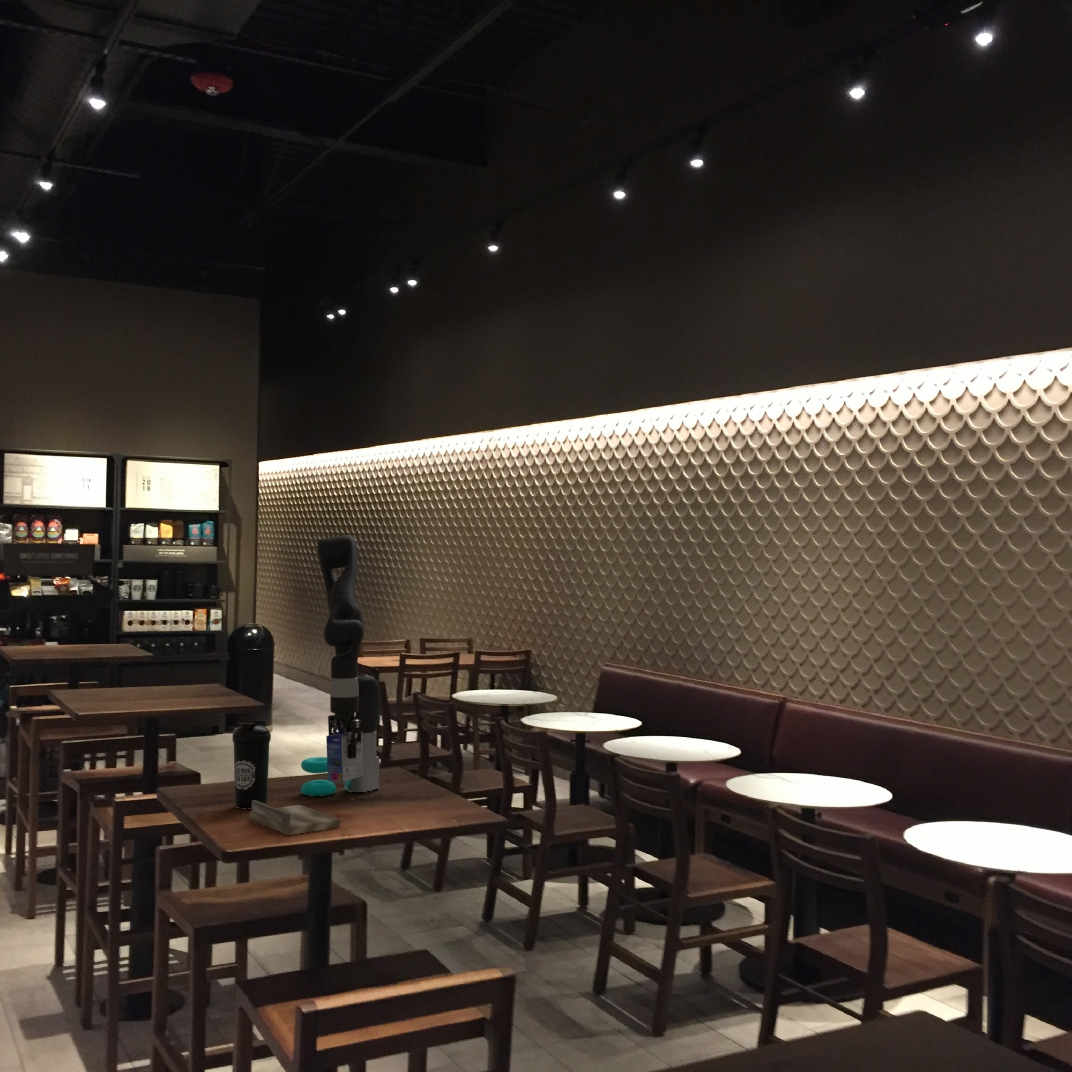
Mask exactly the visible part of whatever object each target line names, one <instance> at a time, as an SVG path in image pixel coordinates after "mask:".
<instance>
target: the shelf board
mask: <svg viewBox="0 0 1072 1072" xmlns="http://www.w3.org/2000/svg"><path fill="white" fill-rule="evenodd" d="M249 820H250V821H252V822H254V821H255V823H258V824H259V823H260V824H259V825H261V826H264V827H266V826H267V828H268V829H271V830H273V829H274V830H273V831H276V830H277V831H276V832H278V831H280V832H282V833H281V834H283V833H285V834H286V835H285V834H284V835H285V836H287V835H291V836H294V835H293V834H297V833H303V834H307V833H306V832H309V833H313V832H312V831H315V832H320V831H319V830H321V831H325V830H326V829H327V830H332V829H337V828H340V826H341V824H340V823H341V821H340V820H341V819H340V818H337V817H336V816H332V815H329V814H326V813H325V812H322V811H318V810H315V809H313V808H310V807H308V806H304V805H302V804H299V803H298V804H294V805H287V806H281V807H273V806H272V805H268V804H267V805H266V804H264V803H261V802H259V801H256V800H254V801H252V809H251V811H249ZM280 832H279V833H280ZM304 832H305V833H304ZM297 835H298V834H297Z"/></svg>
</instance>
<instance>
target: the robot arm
mask: <svg viewBox="0 0 1072 1072" xmlns="http://www.w3.org/2000/svg"><path fill="white" fill-rule="evenodd" d="M357 547H358V546H357V542H356V539H355V538H354V536H352V535H349V534H346V535H345V534H344V535H340V536H339V535H337V536H330V537H325V538H319V540H318V542H317V554H318V559H319V564H320V570H321V574H322V578H323V583H324V589H325V592H326V599H327V605H328V614H329V615H328V619H327V621H326V622H325V623H326V624H325V627H324V630H323V639H324V642H326V644H327V645H328V646H330V647H334V651H335V656H333V657H332V658H331V660H330V661H331V662H330V669H331V670H330V687H329V690H330V691H329V696H330V697H329V698H330V699H329V700H330V702H329V703H330V704H329V706H330V712H331V713H332V714H331V715H327V725H328V726H327V727H328V729H327V731H328V735H332V734H335V733H338V729H337V727H336V725H337V724H339V725H340V727H339V729H341V731H342V733H343V734H344V735H346V736H347V743H348V758H349V759H352V758H356V744H357V743H358V742H361V731H362V745H363V776H360V777H357V778H353V779H350V780H348V781H345V782H343V784H344V785H343V786H344V789H345V790H346V791H353V792H364V793H368V792H367V791H371V792H373V791H372V790H374V789H376V788H379V789H380V757H379V756H377V728H378V726H377V725H378V724H379V719H380V710H381V709H380V706H381V687H380V684H379V682H378V680H377V679H375V678H374V677H371V676H360V674H359V669H358V666H359V664H358V663H359V662H358V661H359V655H360V650H361V646H362V642H363V639H364V634H365V626H364V621H363V614H362V610H361V608H360V606H359V605H358V603H357V602H356V581H357V574H358V562H359V561H358V560H359V557H358V556H359V555H358V554H359V552H358V548H357ZM342 568H344V569H343V571H342V572H341V574H340V575H339V577H338V579H337V577H336V574H335V572H334V570H336V569H342ZM357 733H358V737H357V736H356V734H357ZM350 736H351V739H350ZM345 790H344V791H345ZM346 791H345V792H346Z"/></svg>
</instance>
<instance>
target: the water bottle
mask: <svg viewBox="0 0 1072 1072" xmlns="http://www.w3.org/2000/svg"><path fill="white" fill-rule="evenodd" d="M237 724H238V727H237V728H236V729H235V731H234V732H233V733H232V738H231V739H232V743H233V766H234V767H233V772H234V773H233V776H234V780H233V781H234V807H235V806H236V807H239V808H246V809H245V810H249V809H248V808H251V809H250V810H252V801H254V800H256V801H259V802H261V803H264V804H266V805H268V791H269V790H268V789H269V787H268V785H269V764H270V763H269V762H270V742H271V740H272V733H271V732H270V730H269V728H268V727H267V726H266V721H265V720H260V719H253V720H250V722H239V723H237Z"/></svg>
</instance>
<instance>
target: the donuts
mask: <svg viewBox="0 0 1072 1072" xmlns="http://www.w3.org/2000/svg"><path fill="white" fill-rule="evenodd" d="M300 767H301V769H302V770H303V771H304V772H306V773H309V774H324V773H325V774H326V773H327V756H317V757H308V758H305V759H303V760H302V761H301V763H300ZM336 790H337V786H336V784H335V782H334V781H328V779H316V780H315V779H313V780H309V781H307V782H305V783H303V784H302V786H301V787H300V793H301V794H302V793H303V794H306V795H313V796H320V795H328V796H330V795H329V794H331V795H333V794H335V792H336ZM303 794H302V795H303ZM306 795H305V796H306Z"/></svg>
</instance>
